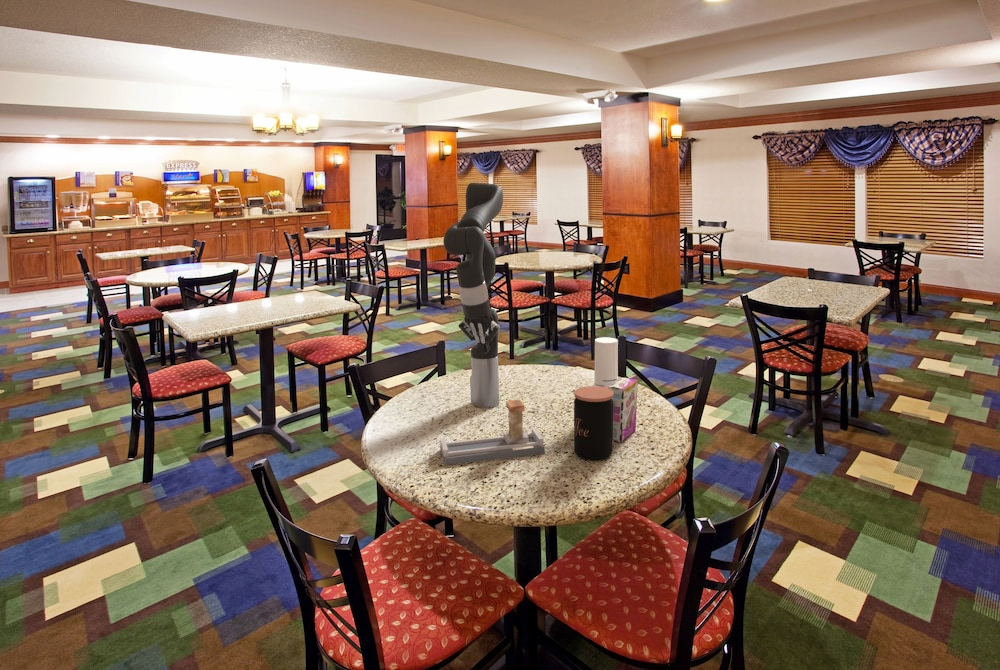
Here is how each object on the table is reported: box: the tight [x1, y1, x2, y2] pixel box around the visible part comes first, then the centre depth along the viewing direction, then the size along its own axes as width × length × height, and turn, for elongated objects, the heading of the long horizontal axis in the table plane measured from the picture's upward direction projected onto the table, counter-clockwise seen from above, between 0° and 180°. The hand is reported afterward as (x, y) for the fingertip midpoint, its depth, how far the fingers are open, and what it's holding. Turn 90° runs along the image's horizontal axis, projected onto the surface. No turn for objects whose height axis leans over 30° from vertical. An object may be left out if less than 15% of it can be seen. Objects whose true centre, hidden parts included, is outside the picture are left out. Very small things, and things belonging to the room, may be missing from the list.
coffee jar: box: [573, 385, 614, 462], centre depth 166 cm, size 11×11×18 cm
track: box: [439, 427, 546, 466], centre depth 170 cm, size 28×10×4 cm, turn 102°
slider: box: [503, 399, 529, 445], centre depth 170 cm, size 6×5×12 cm
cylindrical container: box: [593, 336, 619, 388], centre depth 193 cm, size 7×7×25 cm
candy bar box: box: [608, 377, 639, 443], centre depth 178 cm, size 11×5×16 cm, turn 145°
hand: (484, 352), depth 172 cm, fingers closed
